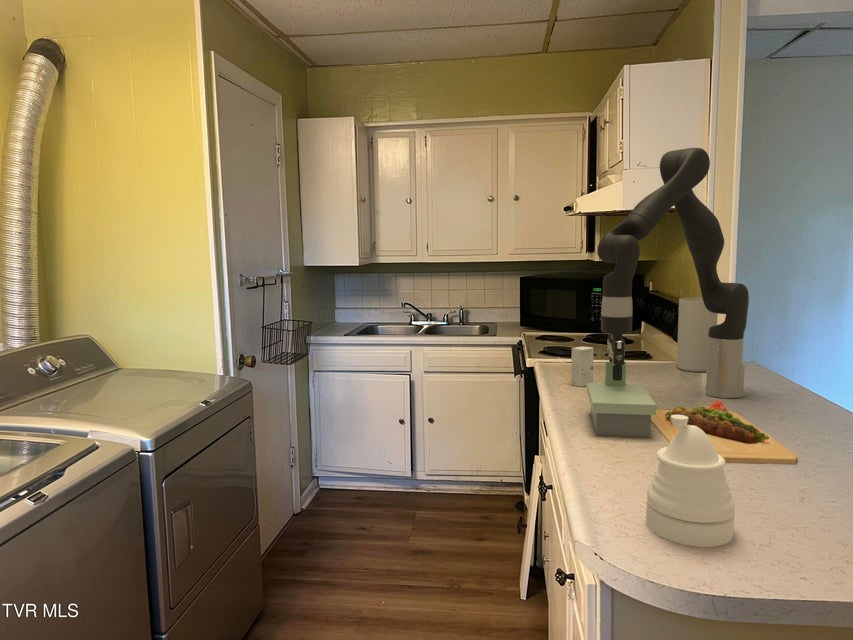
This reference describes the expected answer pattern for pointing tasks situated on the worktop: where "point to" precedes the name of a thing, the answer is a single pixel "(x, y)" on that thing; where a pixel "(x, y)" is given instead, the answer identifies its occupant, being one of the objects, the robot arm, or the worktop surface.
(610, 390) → the lid
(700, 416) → the cutting board
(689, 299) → the cylinder vase
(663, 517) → the honey pot
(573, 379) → the skincare box
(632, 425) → the tub
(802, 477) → the worktop surface
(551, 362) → the worktop surface
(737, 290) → the robot arm
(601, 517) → the worktop surface
